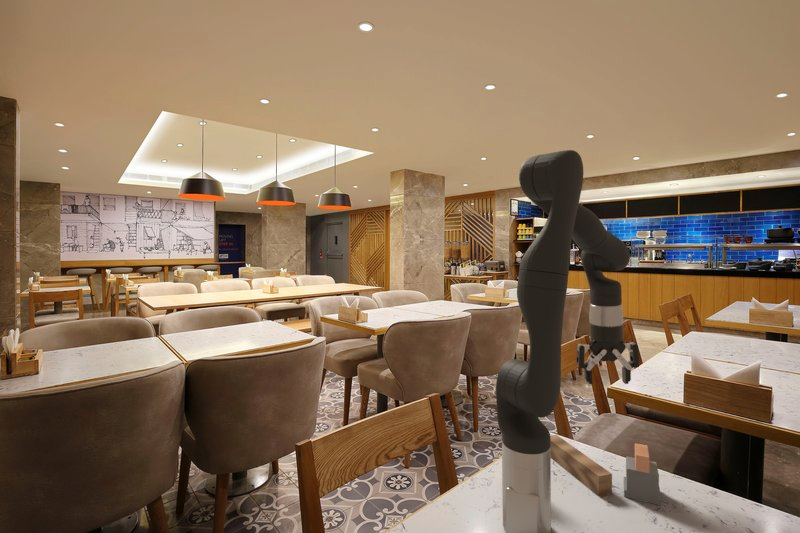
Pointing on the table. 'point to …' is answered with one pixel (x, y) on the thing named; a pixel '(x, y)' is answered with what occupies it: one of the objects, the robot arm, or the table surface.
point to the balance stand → (642, 477)
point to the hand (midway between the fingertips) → (607, 382)
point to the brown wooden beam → (581, 467)
